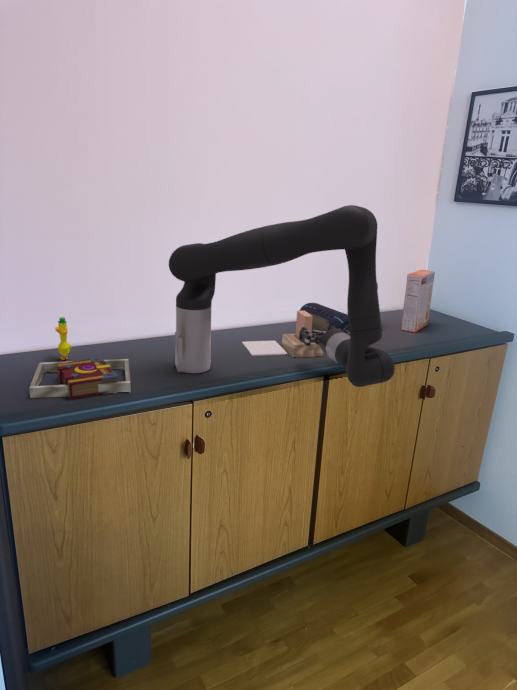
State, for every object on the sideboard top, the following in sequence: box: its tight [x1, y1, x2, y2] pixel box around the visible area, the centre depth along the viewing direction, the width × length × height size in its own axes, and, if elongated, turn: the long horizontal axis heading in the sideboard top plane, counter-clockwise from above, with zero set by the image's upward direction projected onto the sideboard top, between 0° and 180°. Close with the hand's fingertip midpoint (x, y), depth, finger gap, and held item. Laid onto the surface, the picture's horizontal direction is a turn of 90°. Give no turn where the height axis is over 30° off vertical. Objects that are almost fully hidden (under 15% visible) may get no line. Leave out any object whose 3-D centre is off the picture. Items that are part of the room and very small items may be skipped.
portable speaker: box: [299, 302, 350, 336], centre depth 172 cm, size 25×10×10 cm, turn 30°
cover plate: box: [294, 310, 313, 341], centre depth 155 cm, size 2×7×12 cm, turn 15°
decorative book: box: [56, 356, 119, 400], centre depth 124 cm, size 11×16×5 cm
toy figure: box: [54, 316, 72, 361], centre depth 138 cm, size 7×4×12 cm, turn 42°
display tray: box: [28, 358, 132, 399], centre depth 125 cm, size 22×17×2 cm
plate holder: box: [281, 333, 324, 358], centre depth 156 cm, size 9×11×4 cm
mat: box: [241, 340, 289, 357], centre depth 157 cm, size 11×13×1 cm
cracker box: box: [400, 269, 436, 333], centre depth 186 cm, size 14×6×21 cm, turn 144°
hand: (316, 329), depth 144 cm, fingers open, 8 cm apart
